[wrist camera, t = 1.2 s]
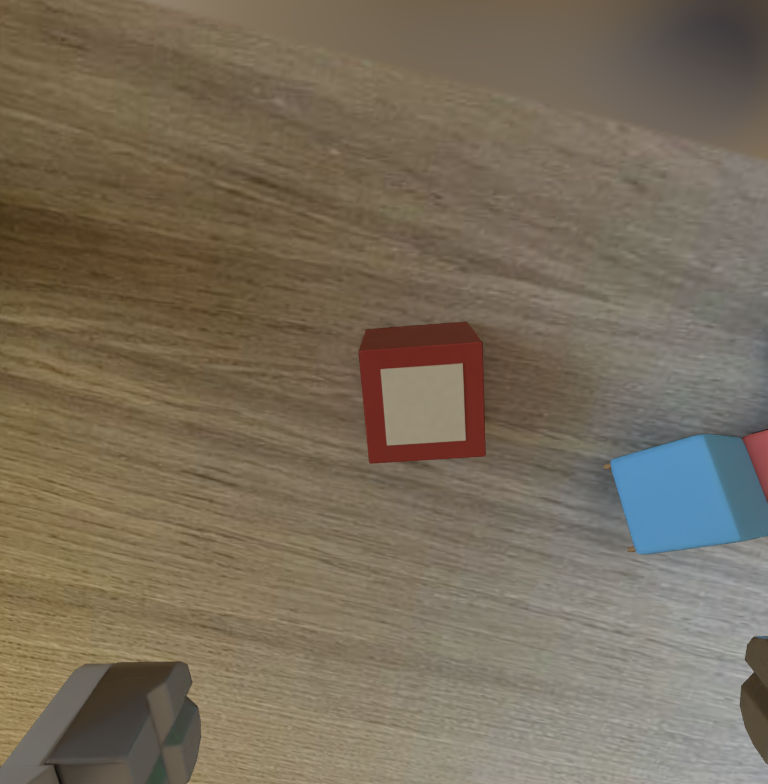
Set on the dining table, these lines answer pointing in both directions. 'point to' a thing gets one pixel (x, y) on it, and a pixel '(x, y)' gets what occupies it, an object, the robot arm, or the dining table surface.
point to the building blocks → (695, 492)
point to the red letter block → (423, 392)
